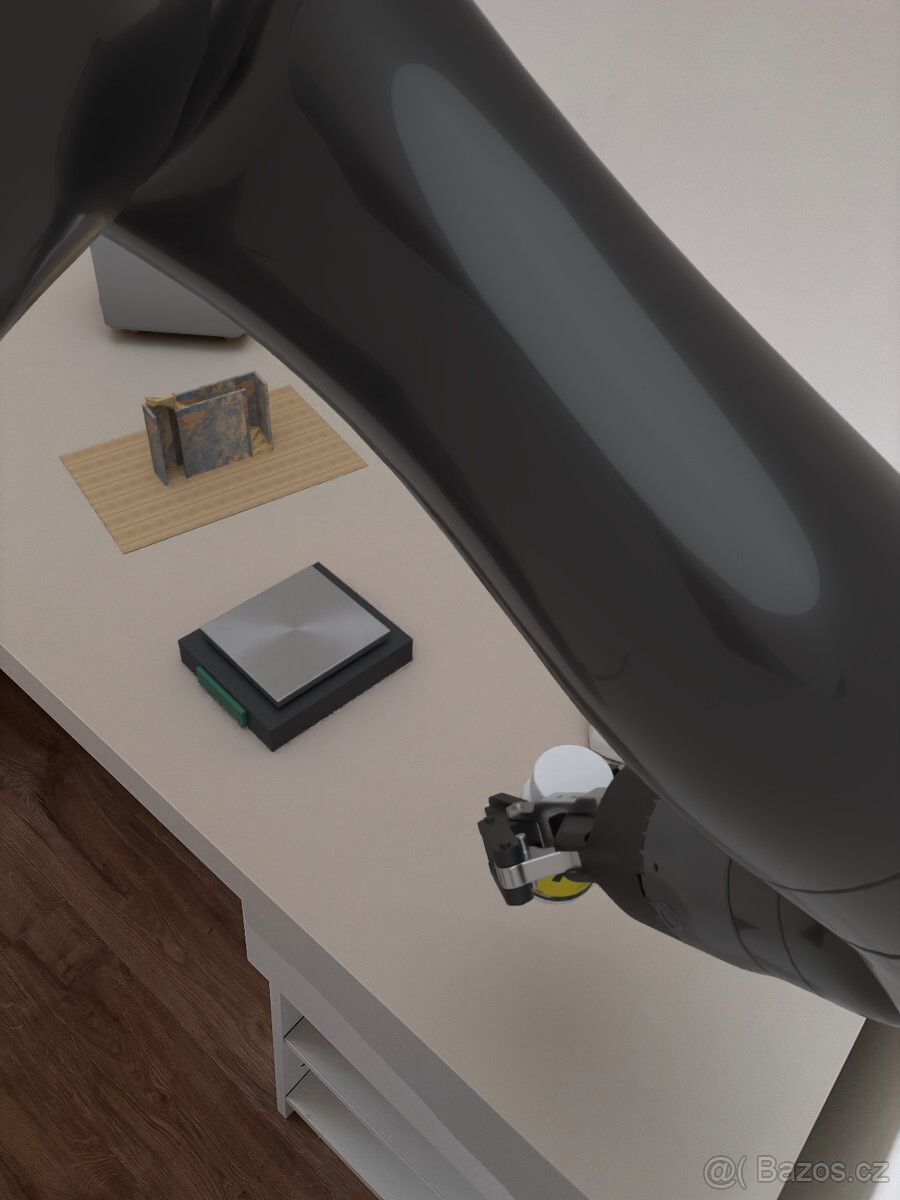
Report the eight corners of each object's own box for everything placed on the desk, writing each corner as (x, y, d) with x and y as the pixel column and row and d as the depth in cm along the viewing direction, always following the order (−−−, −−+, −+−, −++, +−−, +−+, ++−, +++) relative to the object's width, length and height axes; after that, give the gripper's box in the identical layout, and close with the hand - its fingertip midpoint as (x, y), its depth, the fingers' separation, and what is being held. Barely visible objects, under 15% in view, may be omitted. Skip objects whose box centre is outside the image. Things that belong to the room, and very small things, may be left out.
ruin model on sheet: (124, 553, 93) (104, 464, 86) (58, 456, 102) (36, 369, 95) (368, 465, 104) (368, 380, 97) (289, 384, 113) (283, 301, 106)
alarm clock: (148, 262, 131) (123, 107, 118) (275, 271, 130) (264, 117, 118) (101, 345, 117) (66, 180, 104) (244, 356, 116) (227, 191, 103)
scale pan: (278, 708, 78) (277, 701, 77) (200, 634, 83) (198, 627, 82) (390, 637, 83) (390, 630, 83) (311, 571, 88) (311, 564, 88)
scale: (268, 755, 78) (265, 734, 76) (177, 663, 84) (172, 642, 82) (412, 660, 86) (413, 638, 84) (319, 582, 92) (318, 561, 90)
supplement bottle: (490, 869, 57) (504, 776, 51) (543, 816, 60) (562, 721, 54) (561, 925, 55) (585, 834, 49) (612, 866, 58) (641, 774, 52)
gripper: (857, 702, 42) (639, 689, 58) (542, 822, 37) (399, 771, 53) (903, 882, 42) (673, 819, 58) (597, 1024, 37) (438, 913, 54)
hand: (543, 797), depth 56 cm, fingers closed on supplement bottle, 4 cm apart
